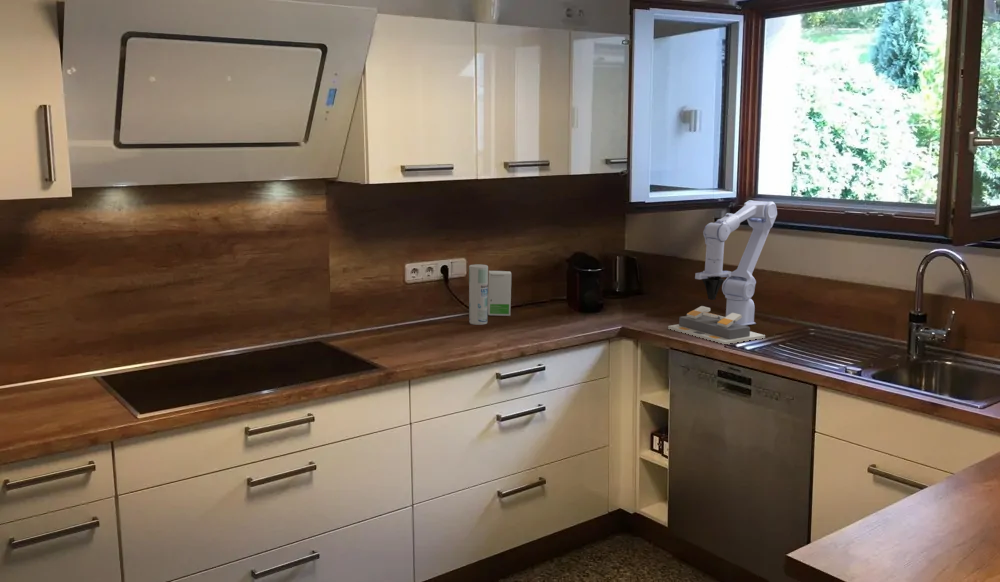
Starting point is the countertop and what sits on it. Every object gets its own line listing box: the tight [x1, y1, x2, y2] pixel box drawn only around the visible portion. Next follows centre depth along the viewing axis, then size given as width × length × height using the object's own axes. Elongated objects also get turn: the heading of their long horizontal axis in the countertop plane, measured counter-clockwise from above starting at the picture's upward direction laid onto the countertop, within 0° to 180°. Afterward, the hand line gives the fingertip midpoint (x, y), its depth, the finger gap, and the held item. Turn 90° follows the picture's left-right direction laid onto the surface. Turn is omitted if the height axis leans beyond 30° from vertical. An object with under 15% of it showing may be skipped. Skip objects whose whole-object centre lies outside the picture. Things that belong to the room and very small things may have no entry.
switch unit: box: [667, 315, 766, 345], centre depth 286 cm, size 18×26×4 cm
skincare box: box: [487, 270, 512, 317], centre depth 313 cm, size 8×7×16 cm
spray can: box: [468, 263, 489, 326], centre depth 298 cm, size 6×6×20 cm
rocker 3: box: [717, 313, 742, 328], centre depth 278 cm, size 7×4×1 cm, turn 120°
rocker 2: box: [702, 312, 726, 320], centre depth 284 cm, size 7×4×1 cm, turn 122°
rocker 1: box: [686, 305, 711, 319], centre depth 290 cm, size 7×4×1 cm, turn 120°
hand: (711, 299), depth 289 cm, fingers closed
